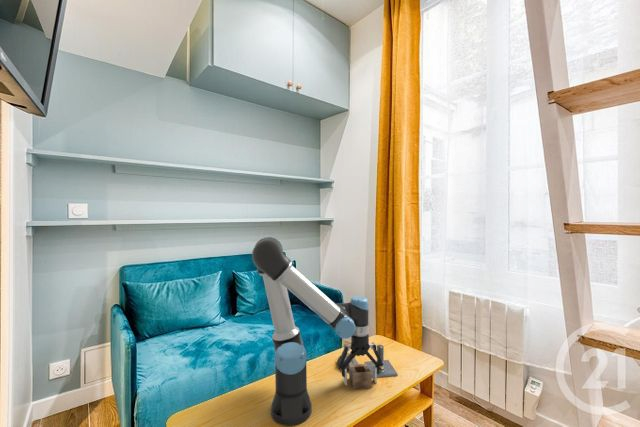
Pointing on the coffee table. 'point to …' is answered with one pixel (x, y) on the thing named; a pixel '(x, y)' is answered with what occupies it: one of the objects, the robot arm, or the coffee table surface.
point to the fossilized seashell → (350, 362)
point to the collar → (360, 376)
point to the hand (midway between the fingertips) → (360, 382)
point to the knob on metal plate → (386, 368)
